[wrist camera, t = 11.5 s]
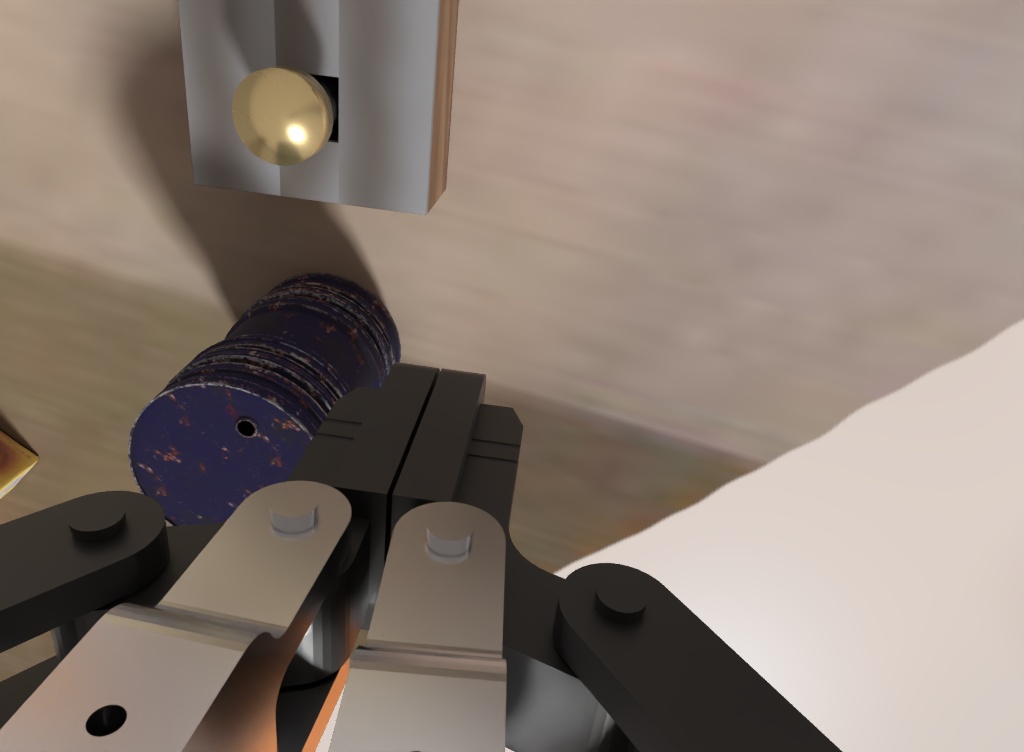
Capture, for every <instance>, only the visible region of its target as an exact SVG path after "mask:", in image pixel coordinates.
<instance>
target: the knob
mask: <svg viewBox="0 0 1024 752" xmlns="http://www.w3.org/2000/svg"><path fill="white" fill-rule="evenodd" d="M232 115H233V121H234V125H235V128H236V131H237V133H238V135H239V137H240V139H241V140H242V142H243V143H244V144H245V146H246V147H247V148H248V149H249V150H250V151H251V152H252V153H253V154H255V155H256V156H257V157H259V158H260V159H262V160H264V161H266V162H269V163H272V164H275V165H284V166H286V165H293V164H297V163H300V162H302V161H304V160H305V159H307V158H309V157H311V156H313V155H314V154H316V153H318V152H319V151H320V150H321V149H322V148H323V147H324V146H325V145H326V143H327V142H328V140H329V138H330V135H331V132H332V128H333V125H334V124H336V123H338V122H339V77H331V76H323V75H319V76H315V77H312V76H311V75H310V74H308V73H307V72H305V71H303V70H301V69H298V68H295V67H291V66H276V67H271V68H266V69H262V70H258V71H255V72H253V73H251V74H250V75H248V76H247V77H246V78H245V79H243V81H242V82H241V83H240V84H239V86H238V88H237V90H236V92H235V94H234V98H233V104H232Z"/></svg>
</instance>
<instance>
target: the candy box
mask: <svg viewBox="0 0 1024 752" xmlns="http://www.w3.org/2000/svg"><path fill="white" fill-rule="evenodd" d="M37 461H38V457H37V456H36V455H35V454H33V453H32V452H30V451H29V450H27V449H25V448H24V447H23V446H21V445H20V444H18V443H17V442H15V441H14V440H13V439H12V438H10V437H9V436H7V435H6V434H5V433H3V432H2V431H1V430H0V498H2V497H3V496H4V495H5V494H7V493H8V492H9V491H10V490H11V489H12V488H13V487H14V486H15V485H16V484H17V483H18V482H19V481H20V480H21V478H22V477H23V476H24V475H25V474H26V473H27V472H28V471H29V470H30V469H31V468H32V467H33V466H34V464H35V463H36V462H37Z"/></svg>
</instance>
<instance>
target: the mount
mask: <svg viewBox="0 0 1024 752" xmlns="http://www.w3.org/2000/svg"><path fill="white" fill-rule="evenodd" d="M458 4H459V0H178V7H179V18H180V30H181V41H182V53H183V64H184V76H185V87H186V99H187V110H188V122H189V134H190V145H191V157H192V168H193V180H194V185H201V186H209V187H216V188H224V189H232V190H239V191H247V192H254V193H262V194H269V195H277V196H284V197H292V198H299V199H307V200H315V201H322V202H330V203H337V204H345V205H352V206H360V207H367V208H375V209H382V210H390V211H397V212H405V213H413V214H420V215H427V213H428V212H429V211H430V209H431V208H432V207H433V205H434V204H435V203H436V201H437V200H438V199H439V197H440V196H441V195H442V193H443V192H444V191H445V189H446V180H447V165H448V150H449V136H450V121H451V107H452V92H453V77H454V63H455V48H456V33H457V19H458ZM276 66H291V67H295V68H298V69H301V70H303V71H305V72H307V73H308V74H310V75H311V76H312V77H315V76H319V75H323V76H331V77H339V122H338V123H336V124H334V125H333V128H332V132H331V135H330V138H329V140H328V142H327V143H326V145H325V146H324V147H323V148H322V149H321V150H320V151H319V152H318V153H316V154H314V155H313V156H311V157H309V158H307V159H305V160H304V161H302V162H300V163H297V164H293V165H286V166H284V165H275V164H272V163H269V162H266V161H264V160H262V159H260V158H259V157H257V156H256V155H255V154H253V153H252V152H251V151H250V150H249V149H248V148H247V147H246V146H245V144H244V143H243V142H242V140H241V139H240V137H239V135H238V133H237V131H236V128H235V125H234V121H233V115H232V104H233V98H234V94H235V92H236V90H237V88H238V86H239V84H240V83H241V82H242V81H243V79H245V78H246V77H247V76H248V75H250V74H251V73H253V72H255V71H258V70H262V69H266V68H271V67H276Z"/></svg>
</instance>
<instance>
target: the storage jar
mask: <svg viewBox="0 0 1024 752" xmlns="http://www.w3.org/2000/svg"><path fill="white" fill-rule="evenodd" d="M400 357H401V345H400V339H399V334H398V331H397V328H396V325H395V323H394V321H393V319H392V317H391V316H390V314H389V312H388V311H387V310H386V308H385V307H384V306H383V304H382V303H381V302H380V301H379V300H378V299H377V298H376V297H375V296H374V295H373V294H371V293H370V292H369V291H368V290H366V289H365V288H363V287H362V286H360V285H358V284H356V283H355V282H353V281H350V280H348V279H345V278H343V277H339V276H335V275H331V274H322V273H312V274H304V275H299V276H295V277H293V278H290V279H288V280H285V281H284V282H282V283H281V284H279V285H278V286H276V287H275V288H274V289H273V290H272V291H271V292H270V293H269V294H267V295H265V296H264V297H262V298H261V299H259V300H258V301H257V302H256V303H255V304H254V305H252V306H251V307H250V308H249V309H248V310H247V311H246V312H245V313H244V314H243V315H242V317H241V318H240V320H239V321H238V322H237V323H236V324H235V325H234V326H233V327H232V328H231V330H230V331H229V332H228V334H227V335H226V338H225V340H223V341H221V342H218V343H216V344H215V345H212V346H210V347H209V348H207V349H206V350H204V351H202V352H201V353H199V354H198V355H197V356H196V357H195V358H194V359H193V360H192V361H191V362H190V363H189V364H188V365H187V366H186V367H184V368H183V369H182V370H181V371H180V372H179V373H178V374H177V375H176V376H175V377H174V378H173V379H172V380H171V381H170V382H169V383H168V385H167V386H166V388H165V389H164V390H163V391H162V392H160V393H159V394H158V395H157V396H156V397H155V398H154V399H153V400H152V401H151V402H149V403H148V404H147V405H146V406H145V407H144V408H143V409H142V411H141V412H140V414H139V415H138V417H137V418H136V420H135V422H134V424H133V427H132V429H131V433H130V438H129V444H128V446H129V461H130V466H131V471H132V473H133V476H134V479H135V481H136V484H137V486H138V487H139V489H140V491H141V493H142V494H143V495H146V496H148V497H150V498H152V499H154V500H155V501H156V502H158V503H159V504H160V506H161V507H162V508H163V511H164V514H165V521H166V522H167V523H168V524H170V525H171V526H183V525H196V524H210V523H218V522H224V521H227V520H228V519H229V518H230V516H231V515H232V514H233V513H234V512H235V510H236V509H237V508H238V507H239V505H240V504H241V503H242V502H243V501H244V500H245V499H246V498H247V497H249V496H250V495H251V494H253V493H254V492H256V491H258V490H260V489H262V488H264V487H267V486H270V485H273V484H277V483H281V482H286V480H287V479H288V477H289V476H290V474H291V472H292V471H293V469H294V468H295V466H296V464H297V463H298V461H299V460H300V458H301V456H302V455H303V453H304V452H305V450H306V448H307V447H308V445H309V444H310V442H311V440H312V439H313V437H314V436H315V437H316V432H317V431H318V429H319V428H320V426H321V424H322V423H323V422H325V418H326V416H327V415H328V413H329V412H330V410H331V408H332V407H333V405H334V404H335V402H336V400H338V399H339V398H341V397H343V396H344V395H346V394H348V393H349V392H351V391H353V390H354V389H356V388H358V387H364V388H371V389H379V390H380V389H381V387H382V385H383V383H384V381H385V379H386V377H387V375H388V374H389V372H390V370H391V368H392V366H393V364H394V363H395V362H397V363H400Z"/></svg>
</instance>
